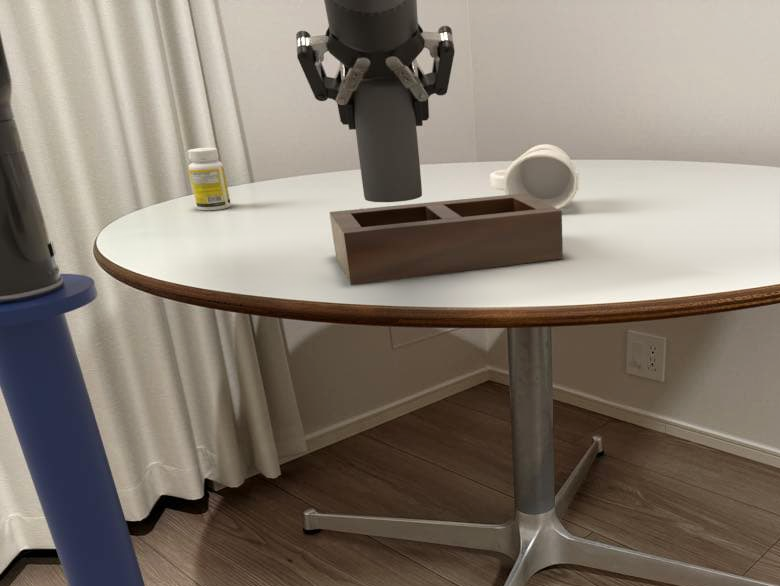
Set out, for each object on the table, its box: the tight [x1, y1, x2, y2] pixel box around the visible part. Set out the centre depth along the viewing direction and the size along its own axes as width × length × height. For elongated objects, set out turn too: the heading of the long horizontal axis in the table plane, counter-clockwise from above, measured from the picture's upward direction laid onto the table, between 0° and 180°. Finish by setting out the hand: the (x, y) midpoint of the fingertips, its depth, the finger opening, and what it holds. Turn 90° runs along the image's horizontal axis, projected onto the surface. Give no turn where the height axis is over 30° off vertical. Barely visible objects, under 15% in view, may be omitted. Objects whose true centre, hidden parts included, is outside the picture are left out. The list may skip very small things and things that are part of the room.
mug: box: [489, 143, 580, 210], centre depth 107 cm, size 12×9×8 cm
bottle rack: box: [329, 194, 564, 286], centre depth 83 cm, size 12×22×5 cm, turn 110°
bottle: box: [352, 77, 423, 203], centre depth 77 cm, size 6×6×15 cm
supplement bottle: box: [187, 147, 232, 211], centre depth 116 cm, size 5×5×8 cm
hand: (385, 120), depth 78 cm, fingers closed on bottle, 6 cm apart
